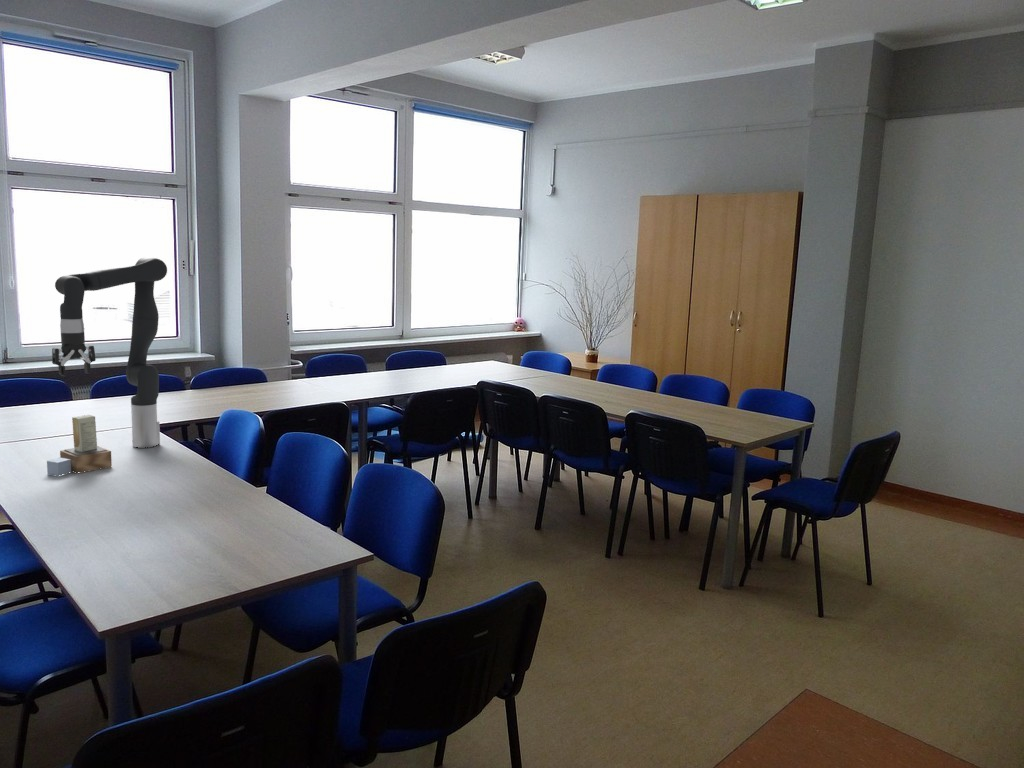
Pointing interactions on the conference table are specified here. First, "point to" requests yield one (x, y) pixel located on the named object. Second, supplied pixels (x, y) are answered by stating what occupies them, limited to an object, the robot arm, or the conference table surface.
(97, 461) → the walnut base
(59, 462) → the slate cube
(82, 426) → the skincare box
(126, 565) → the conference table surface
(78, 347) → the robot arm
